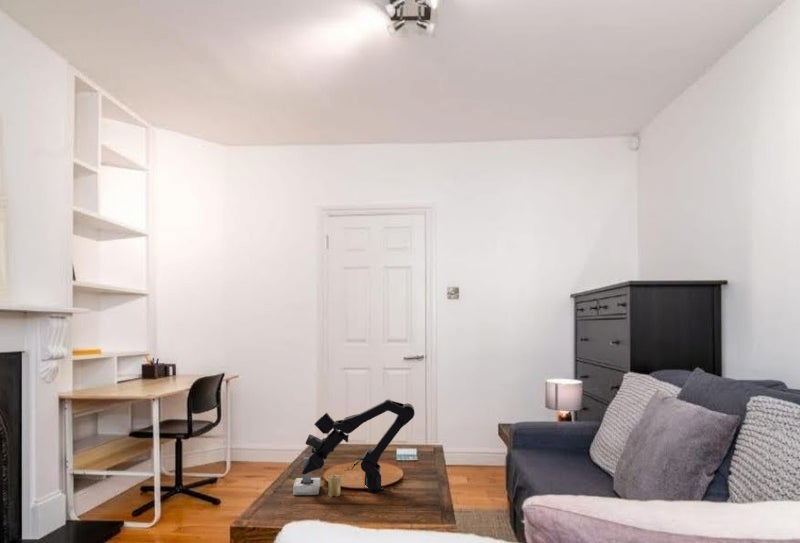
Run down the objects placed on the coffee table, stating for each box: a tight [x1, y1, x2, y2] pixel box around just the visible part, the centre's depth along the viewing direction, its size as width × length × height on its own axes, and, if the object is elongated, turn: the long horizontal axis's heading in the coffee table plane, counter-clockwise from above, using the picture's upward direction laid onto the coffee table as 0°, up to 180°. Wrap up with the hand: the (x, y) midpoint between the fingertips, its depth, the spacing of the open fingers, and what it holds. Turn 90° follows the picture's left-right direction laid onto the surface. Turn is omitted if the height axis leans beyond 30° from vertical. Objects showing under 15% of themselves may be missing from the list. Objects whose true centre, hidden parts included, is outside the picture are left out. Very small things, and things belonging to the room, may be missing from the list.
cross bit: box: [327, 474, 341, 498], centre depth 207 cm, size 5×5×7 cm
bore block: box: [292, 477, 321, 496], centre depth 212 cm, size 10×10×4 cm
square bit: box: [302, 456, 312, 484], centre depth 212 cm, size 3×3×13 cm
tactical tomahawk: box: [354, 456, 362, 463], centre depth 248 cm, size 21×7×1 cm, turn 166°
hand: (303, 470), depth 212 cm, fingers open, 9 cm apart
